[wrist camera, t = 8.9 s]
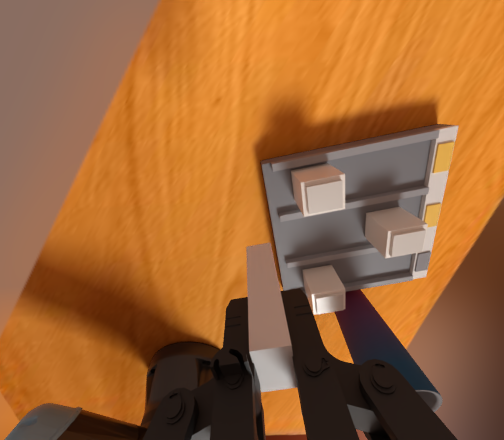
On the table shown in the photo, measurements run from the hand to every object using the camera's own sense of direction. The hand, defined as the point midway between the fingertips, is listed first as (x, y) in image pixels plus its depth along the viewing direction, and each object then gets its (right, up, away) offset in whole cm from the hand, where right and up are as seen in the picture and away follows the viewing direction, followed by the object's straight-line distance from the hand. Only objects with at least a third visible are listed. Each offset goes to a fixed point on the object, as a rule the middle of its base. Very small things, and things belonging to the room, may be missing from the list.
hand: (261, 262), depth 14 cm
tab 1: (+6, +7, +11) cm, 14 cm away
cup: (+15, -10, +22) cm, 28 cm away
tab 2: (+9, -5, +17) cm, 20 cm away
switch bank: (+12, +3, +15) cm, 20 cm away
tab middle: (+16, +2, +13) cm, 20 cm away
